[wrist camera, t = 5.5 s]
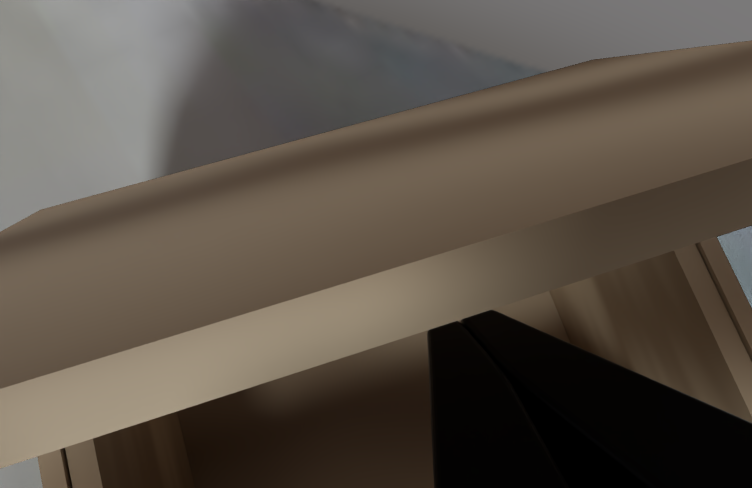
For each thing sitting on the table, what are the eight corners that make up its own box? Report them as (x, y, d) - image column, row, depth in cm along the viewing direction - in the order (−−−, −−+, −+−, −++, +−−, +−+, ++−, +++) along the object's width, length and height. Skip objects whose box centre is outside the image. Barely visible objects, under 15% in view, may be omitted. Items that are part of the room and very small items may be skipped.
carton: (677, 543, 20) (899, 609, 12) (218, 724, 18) (125, 946, 10) (533, 199, 23) (635, 71, 15) (127, 320, 21) (-1, 247, 13)
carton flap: (1374, 24, 5) (1384, -36, 5) (-594, 659, 3) (-655, 589, 3) (595, 77, 15) (592, 59, 15) (48, 228, 13) (40, 209, 13)
